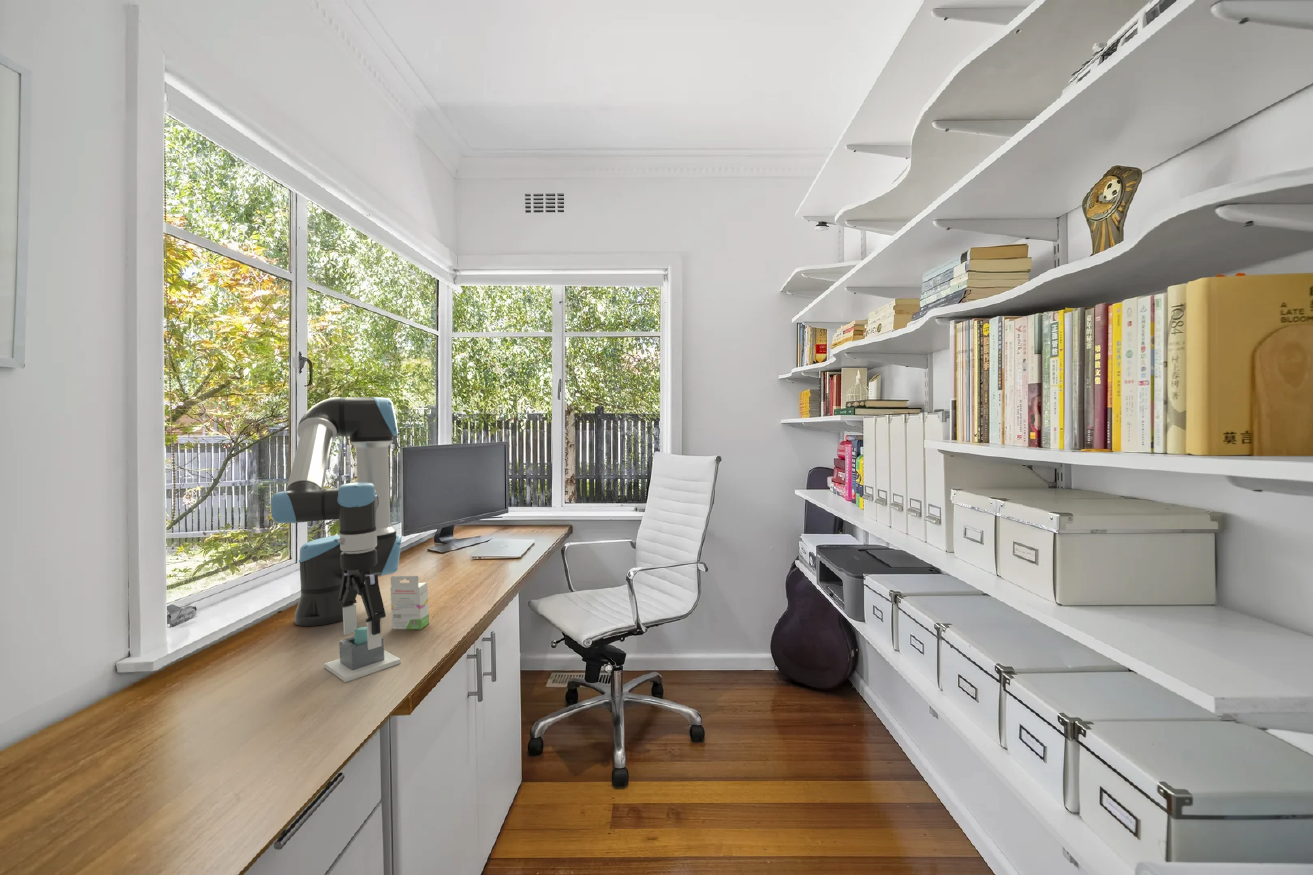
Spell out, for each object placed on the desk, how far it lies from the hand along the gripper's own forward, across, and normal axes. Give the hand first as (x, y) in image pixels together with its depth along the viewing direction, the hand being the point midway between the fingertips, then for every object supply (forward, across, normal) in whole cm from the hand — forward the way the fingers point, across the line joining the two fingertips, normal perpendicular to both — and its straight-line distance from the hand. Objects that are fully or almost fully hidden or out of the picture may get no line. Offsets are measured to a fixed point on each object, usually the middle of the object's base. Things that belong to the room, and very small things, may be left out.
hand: (362, 640), depth 128 cm
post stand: (+6, 0, 0) cm, 6 cm away
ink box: (+6, -16, +19) cm, 25 cm away
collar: (+5, 0, 0) cm, 5 cm away
